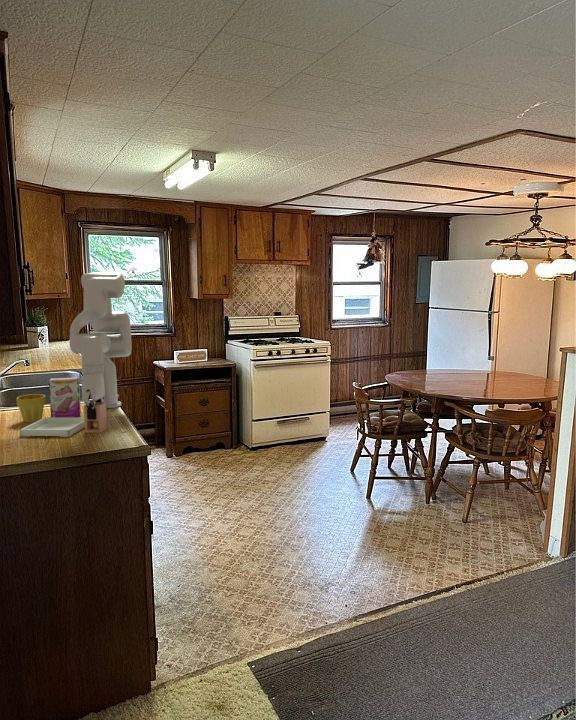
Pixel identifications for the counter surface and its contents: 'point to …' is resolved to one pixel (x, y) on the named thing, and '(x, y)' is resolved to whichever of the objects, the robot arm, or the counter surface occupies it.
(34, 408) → the plant pot
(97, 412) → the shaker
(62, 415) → the candy bar box
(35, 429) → the tray
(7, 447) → the counter surface
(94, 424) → the ball
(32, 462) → the counter surface
